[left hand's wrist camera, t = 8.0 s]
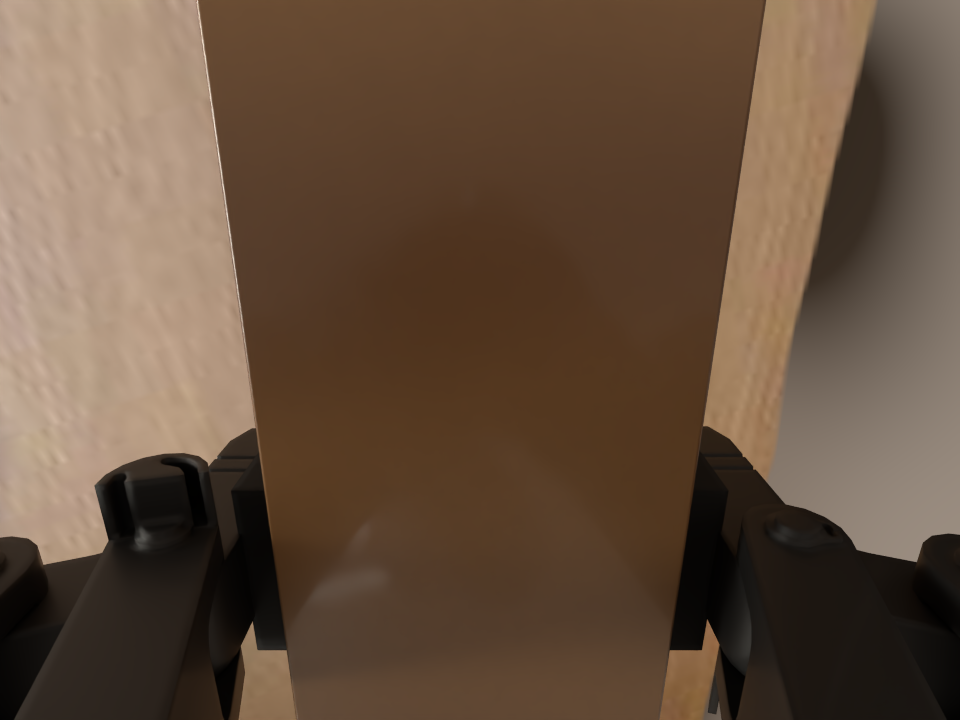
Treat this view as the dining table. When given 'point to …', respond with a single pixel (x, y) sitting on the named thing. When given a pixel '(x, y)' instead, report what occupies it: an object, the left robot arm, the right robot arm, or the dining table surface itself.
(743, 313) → the dining table surface
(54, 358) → the dining table surface
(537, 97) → the beam
